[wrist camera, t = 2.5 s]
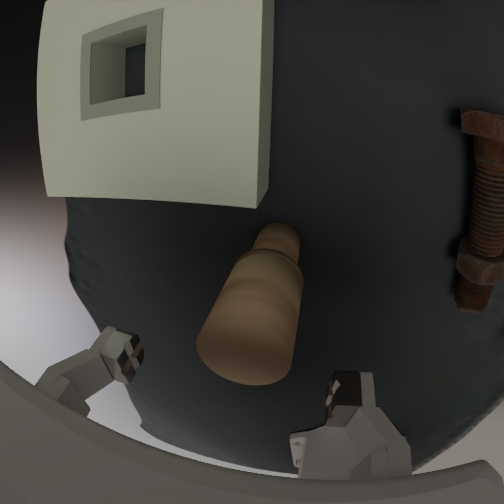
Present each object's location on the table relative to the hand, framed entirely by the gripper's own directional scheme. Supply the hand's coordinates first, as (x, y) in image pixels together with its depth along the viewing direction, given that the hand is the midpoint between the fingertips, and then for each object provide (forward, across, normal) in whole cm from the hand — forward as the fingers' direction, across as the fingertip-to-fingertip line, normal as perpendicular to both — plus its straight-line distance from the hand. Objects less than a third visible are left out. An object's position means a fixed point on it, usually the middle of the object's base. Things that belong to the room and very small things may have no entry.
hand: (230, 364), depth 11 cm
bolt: (+12, -16, -4) cm, 20 cm away
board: (+12, +10, -12) cm, 20 cm away
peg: (+12, -1, +1) cm, 12 cm away
